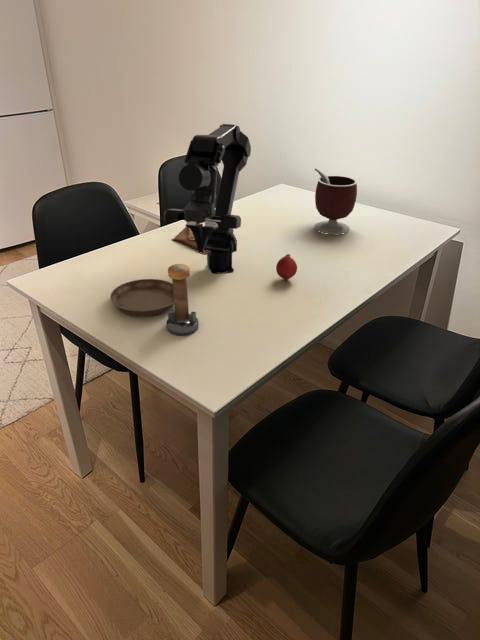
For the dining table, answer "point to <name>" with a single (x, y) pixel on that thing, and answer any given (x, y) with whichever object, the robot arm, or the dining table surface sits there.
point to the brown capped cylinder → (180, 290)
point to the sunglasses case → (187, 239)
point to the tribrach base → (182, 324)
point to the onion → (286, 267)
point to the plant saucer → (143, 297)
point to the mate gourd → (334, 201)
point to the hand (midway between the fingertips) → (200, 252)
